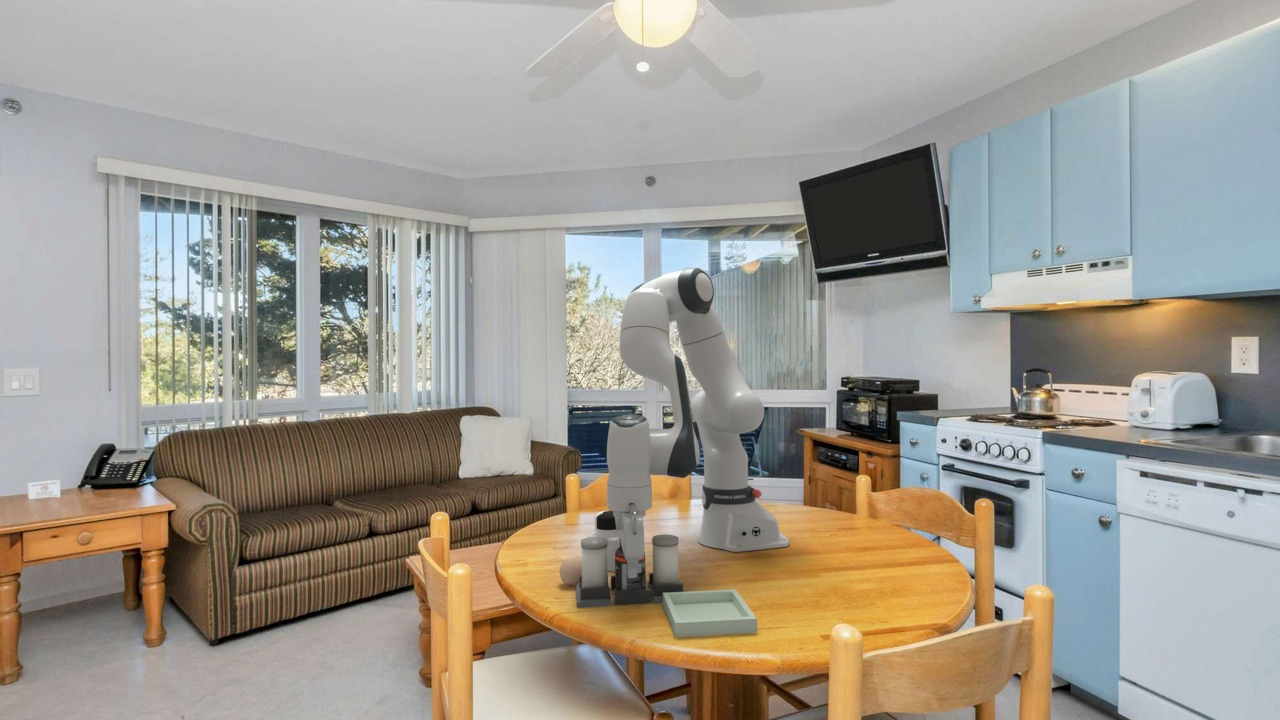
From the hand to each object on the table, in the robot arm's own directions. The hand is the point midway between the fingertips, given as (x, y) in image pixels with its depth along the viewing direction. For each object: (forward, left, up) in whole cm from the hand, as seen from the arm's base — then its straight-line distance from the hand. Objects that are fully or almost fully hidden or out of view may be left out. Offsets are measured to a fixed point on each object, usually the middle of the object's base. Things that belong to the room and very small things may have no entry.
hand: (629, 568), depth 126 cm
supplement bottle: (0, 0, -5) cm, 5 cm away
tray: (-13, +13, -5) cm, 19 cm away
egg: (+11, -7, -5) cm, 15 cm away
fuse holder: (0, 0, -5) cm, 5 cm away
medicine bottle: (+3, -19, -5) cm, 20 cm away
